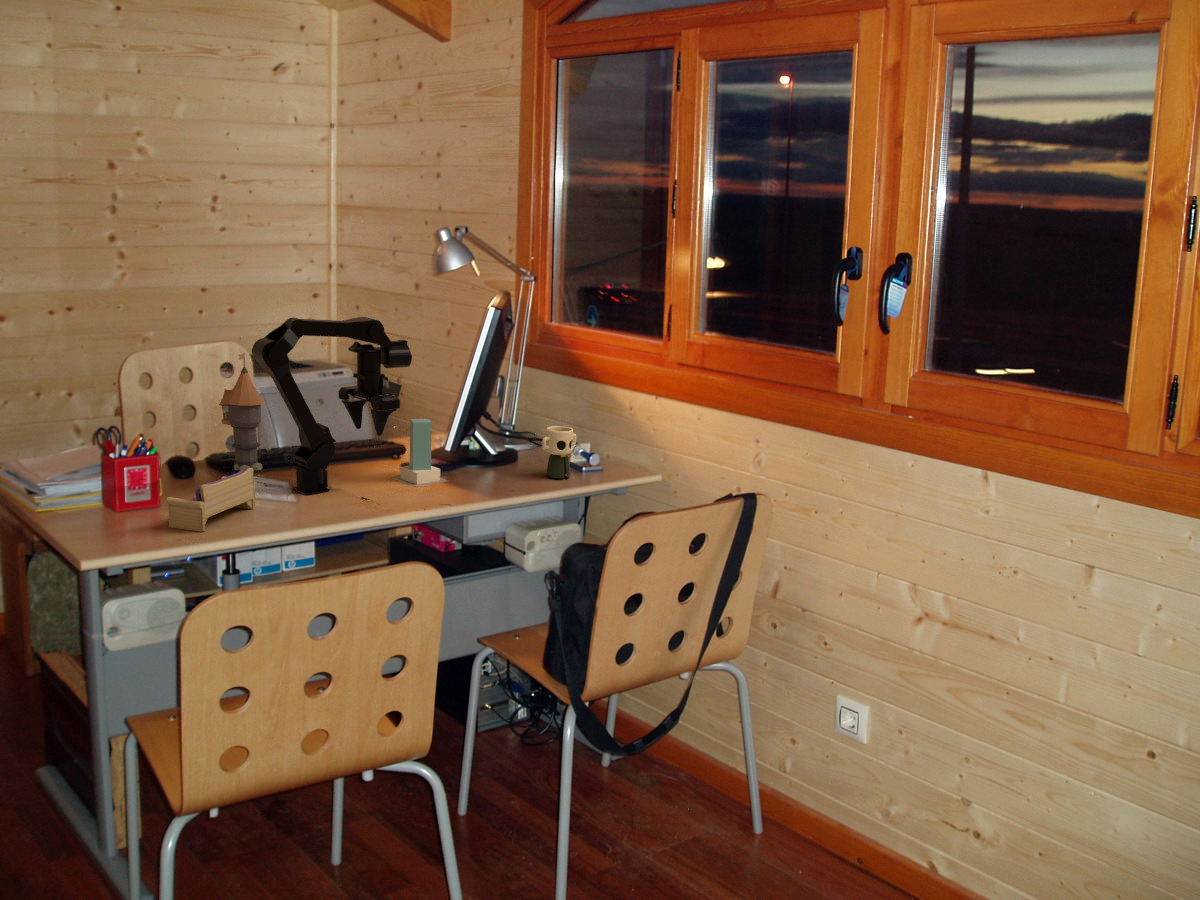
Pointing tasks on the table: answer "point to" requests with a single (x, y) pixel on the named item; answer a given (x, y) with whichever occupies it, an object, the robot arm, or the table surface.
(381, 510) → the table surface
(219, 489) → the toy sofa
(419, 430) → the teal column brick
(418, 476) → the cream slab brick
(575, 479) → the table surface
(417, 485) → the grey baseplate
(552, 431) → the character mug
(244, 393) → the model tower
